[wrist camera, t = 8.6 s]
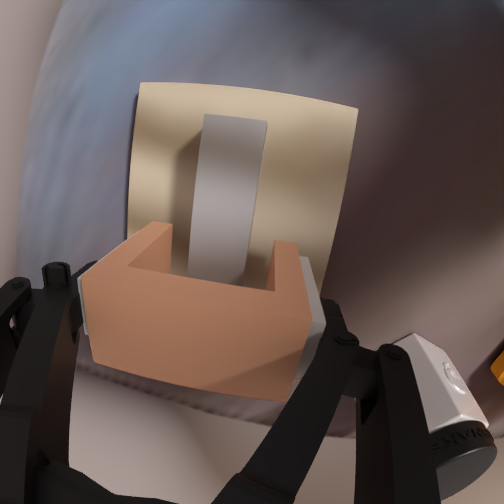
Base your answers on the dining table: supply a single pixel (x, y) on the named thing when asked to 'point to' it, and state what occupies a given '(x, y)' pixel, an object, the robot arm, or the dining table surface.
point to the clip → (197, 320)
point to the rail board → (284, 173)
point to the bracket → (499, 368)
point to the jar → (450, 417)
